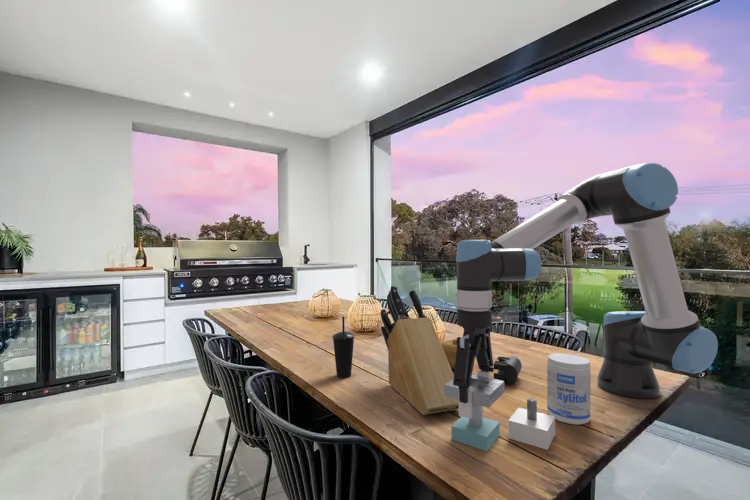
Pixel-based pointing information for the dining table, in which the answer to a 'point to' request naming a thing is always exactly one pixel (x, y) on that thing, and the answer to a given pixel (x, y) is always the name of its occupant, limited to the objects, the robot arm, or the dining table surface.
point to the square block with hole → (478, 390)
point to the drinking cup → (343, 352)
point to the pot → (450, 351)
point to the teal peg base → (476, 430)
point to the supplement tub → (568, 388)
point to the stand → (532, 426)
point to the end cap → (507, 369)
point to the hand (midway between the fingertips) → (475, 407)
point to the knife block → (416, 357)
